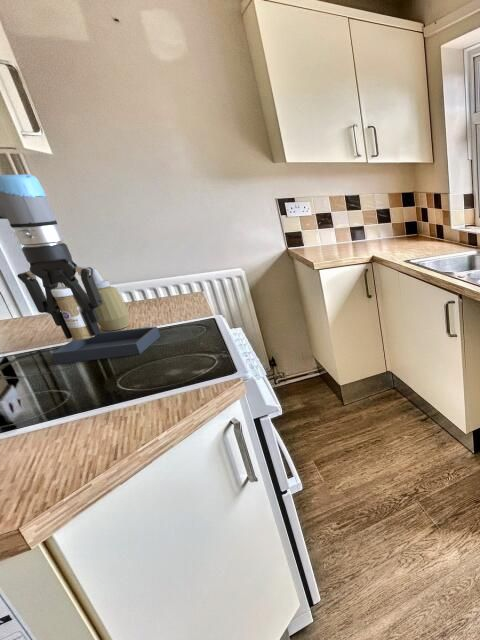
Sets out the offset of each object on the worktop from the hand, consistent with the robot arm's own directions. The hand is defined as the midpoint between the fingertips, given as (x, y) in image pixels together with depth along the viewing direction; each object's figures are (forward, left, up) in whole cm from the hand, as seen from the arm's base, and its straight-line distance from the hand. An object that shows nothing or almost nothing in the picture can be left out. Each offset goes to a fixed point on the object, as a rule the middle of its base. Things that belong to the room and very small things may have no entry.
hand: (84, 335), depth 109 cm
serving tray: (+4, 0, -5) cm, 7 cm away
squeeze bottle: (-3, +20, -5) cm, 21 cm away
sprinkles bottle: (0, 0, -1) cm, 1 cm away
